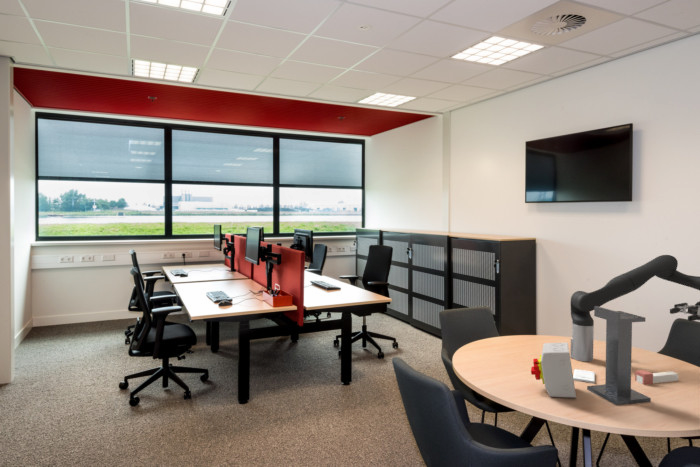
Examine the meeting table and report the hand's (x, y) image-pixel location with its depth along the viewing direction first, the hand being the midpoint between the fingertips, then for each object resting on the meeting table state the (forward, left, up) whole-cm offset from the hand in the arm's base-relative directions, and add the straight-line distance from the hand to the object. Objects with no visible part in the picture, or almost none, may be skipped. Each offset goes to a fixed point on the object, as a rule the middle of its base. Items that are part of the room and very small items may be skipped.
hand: (679, 315), depth 185 cm
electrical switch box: (-30, -52, -28) cm, 66 cm away
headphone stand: (-11, -38, -28) cm, 48 cm away
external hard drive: (-28, -27, -29) cm, 48 cm away
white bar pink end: (-5, -9, -28) cm, 30 cm away
